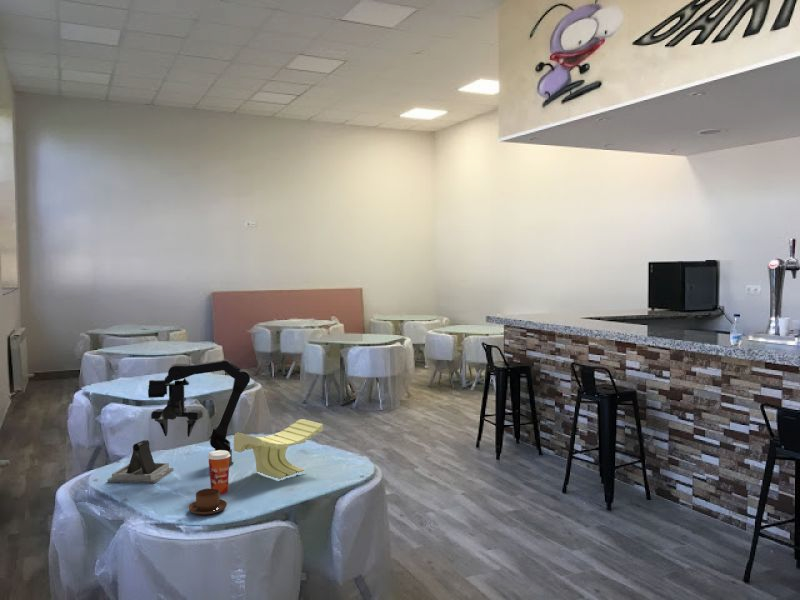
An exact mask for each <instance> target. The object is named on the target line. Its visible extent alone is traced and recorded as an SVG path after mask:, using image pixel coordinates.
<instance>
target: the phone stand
mask: <svg viewBox="0 0 800 600" xmlns="http://www.w3.org/2000/svg"><path fill="white" fill-rule="evenodd" d="M155 463H156V462H155V460H154V459H153V454H152V452H151V449H150V442H149V440H147V439H143V440H141V441H138V442H136V443H134V444H133V445H132V455H131V458H130V461H129V463H128V464H129V467H128V470H127V473H126V474H151V473H152V472H154V471H155V470H157V469H156V466H155ZM141 468H142V469H141Z"/></svg>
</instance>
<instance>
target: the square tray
mask: <svg viewBox="0 0 800 600" xmlns="http://www.w3.org/2000/svg"><path fill="white" fill-rule="evenodd" d="M154 463H155V466H156V469H157V470H155V471H154V472H152V473H151V474H126V473H127V470H128V467H129V464H130V463H128V464H126V465H124V466H123V467H121V468H119V469H118V470H116V471H115V472H113V473H111V477H109V478H107V480H106V481H109V482H108V483H113V482H120V483H119V484H122V483H124V484H142V485H143V484H144V485H146V484H147V485H148V484H149V485H155V484H156V483H158V482H159V481H160V480H162V479H164V477H166V476H168V475H169V474H171V473H172V472H174V467H170V463H169V462H168V463H167V462H154ZM141 469H142V468H141Z"/></svg>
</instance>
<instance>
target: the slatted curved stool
mask: <svg viewBox="0 0 800 600" xmlns="http://www.w3.org/2000/svg"><path fill="white" fill-rule="evenodd" d="M323 431H324V424H323V423H321V422H316V421H312V420H309V419H304V418H302V419H301V418H299V419H298V420H296V421H295V422H294V423H292V424H290V425H289V427H286V428H284V429H283V430H281V431H279V432H277V433H273V434H270V435H266V436H252V435H248V434H246V433H242V432H238V431H237V432H235V434H234V436H233V451H234V452H237V453H240V454H241V453H242V452H244V451H246V450H247V451H248V450H252V452H253V455H254V459H255V469H256V473H257V472H260V473H263V474H265V475H268V476H271V477H274V478H278V479H281V478H283V477H286V476H290V475H293V474H295V473H297V472H298V473H299V472H302V471H305V469H303V468H301V467H298V466H296V465H295V464H292V463H291V462H289V460H288V459H287V457H286V453H287V450H288V447H293V446H295V445H301V444H304V443H307V440H312V439H313V438H312V436H318V432H319V433H321V432H323Z"/></svg>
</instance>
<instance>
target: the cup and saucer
mask: <svg viewBox="0 0 800 600" xmlns="http://www.w3.org/2000/svg"><path fill="white" fill-rule="evenodd" d="M195 500H196V501H193V502H191V503H190V504H189V505H188V510H189V512H191V513H192V514H196V515H202V516H204V515H206V516H207V515H211V514H216V513H219V512H221V511H223V510H225V508H226V507H227V505H228V503H227V500H224V499H221V498H220V494H219V490H217V489H211V488H203V489H200V490H198V491H196V493H195ZM217 507H218V508H219V509H218V510H216V508H217ZM213 510H215V511H213Z"/></svg>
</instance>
